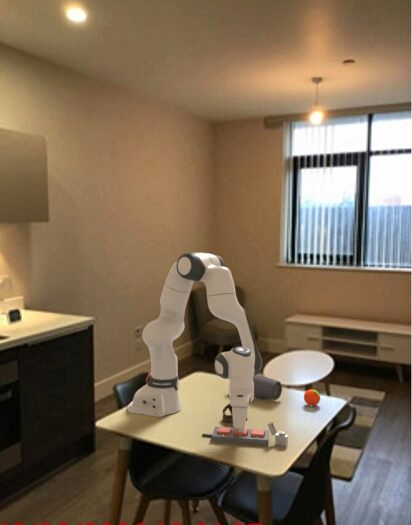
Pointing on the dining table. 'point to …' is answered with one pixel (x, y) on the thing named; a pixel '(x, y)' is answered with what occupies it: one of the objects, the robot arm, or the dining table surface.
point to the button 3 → (257, 433)
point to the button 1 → (224, 431)
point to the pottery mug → (228, 417)
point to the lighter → (278, 435)
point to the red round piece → (311, 397)
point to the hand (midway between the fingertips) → (241, 430)
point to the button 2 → (240, 432)
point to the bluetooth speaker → (266, 388)
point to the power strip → (239, 438)
